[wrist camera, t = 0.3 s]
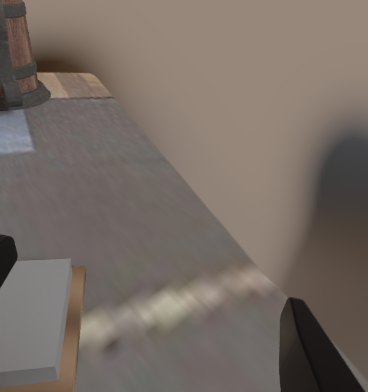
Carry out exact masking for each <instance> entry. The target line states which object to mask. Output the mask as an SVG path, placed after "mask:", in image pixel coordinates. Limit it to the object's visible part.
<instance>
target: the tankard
mask: <svg viewBox="0 0 368 392" xmlns="http://www.w3.org/2000/svg"><path fill="white" fill-rule="evenodd" d="M25 15H26V8H25V4H24V2H23V1H22V0H0V111H7V110H19V109H25V108H30V107H34V106H37V105H40V104H42V103H44V102H46V101H47V100H49V98H50V97H51V93H50V91H49V90H47V89H46V88H45V86H44V85H43V83H42V82H41V81H39V80H38V79H37V74H36V72H37V67H36V61H35V59H34V58H33V54H32V48H31V43H30V38H29V32H28V27H27V21H26V16H25Z"/></svg>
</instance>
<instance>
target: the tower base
mask: <svg viewBox="0 0 368 392" xmlns="http://www.w3.org/2000/svg"><path fill="white" fill-rule="evenodd" d="M85 278H86V272H85V266H78V267H72V281H71V288H70V296H69V303H68V311H67V318H66V326H65V334H64V341H63V349H62V356H61V364H60V371H59V379H58V381H53V382H45V383H36V384H28V385H19V386H11V387H2V388H0V392H74V389H75V379H76V369H77V359H78V349H79V339H80V329H81V319H82V308H83V298H84V288H85Z"/></svg>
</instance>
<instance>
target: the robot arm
mask: <svg viewBox="0 0 368 392" xmlns="http://www.w3.org/2000/svg"><path fill="white" fill-rule="evenodd" d="M17 256H18V255H17V250H16V246H15V242H14V239H13V238H12V237H11V236H6V235H0V288H1V287H2V285H3V283H4V281H5V280H6V278H7V276H8V275H9V273H10V271H11V270H12V268H13V266H14V265H15V263H16V261H17ZM279 375H280V387H281V392H365V390H364V389H363V387H362V386H361V384H360V383H359V381H358V380H357V378H356V377H355V375H354V374H353V372H352V371H351V369H350V368H349V366H348V365H347V363H346V362H345V361H344V359H343V358H342V356H341V355H340V353H339V352H338V350H337V349H336V347H335V346H334V344H333V343H332V341H331V340H330V338H329V337H328V335H327V334H326V332H325V331H324V329H323V328H322V327H321V325H320V324H319V322H318V320H317V319H316V318H315V316H314V315H313V313H312V311H311V310H310V309H309V307H308V306H307V304H306V303H305V301H304V300H303V299H300V298H295V297H289V298H288V299H287V301H286V304H285V306H284V308H283V311H282V313H281V317H280V351H279Z"/></svg>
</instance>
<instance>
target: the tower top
mask: <svg viewBox="0 0 368 392" xmlns="http://www.w3.org/2000/svg"><path fill="white" fill-rule="evenodd" d="M71 281H72V267H71V259H55V260H29V261H16V263H15V265H14V266H13V268H12V270H11V271H10V273H9V275H8V276H7V278H6V280H5V281H4V283H3V285H2V287H1V288H0V388H2V387H11V386H19V385H28V384H36V383H45V382H53V381H58V379H59V371H60V364H61V356H62V349H63V341H64V334H65V326H66V318H67V311H68V303H69V296H70V288H71Z"/></svg>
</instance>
